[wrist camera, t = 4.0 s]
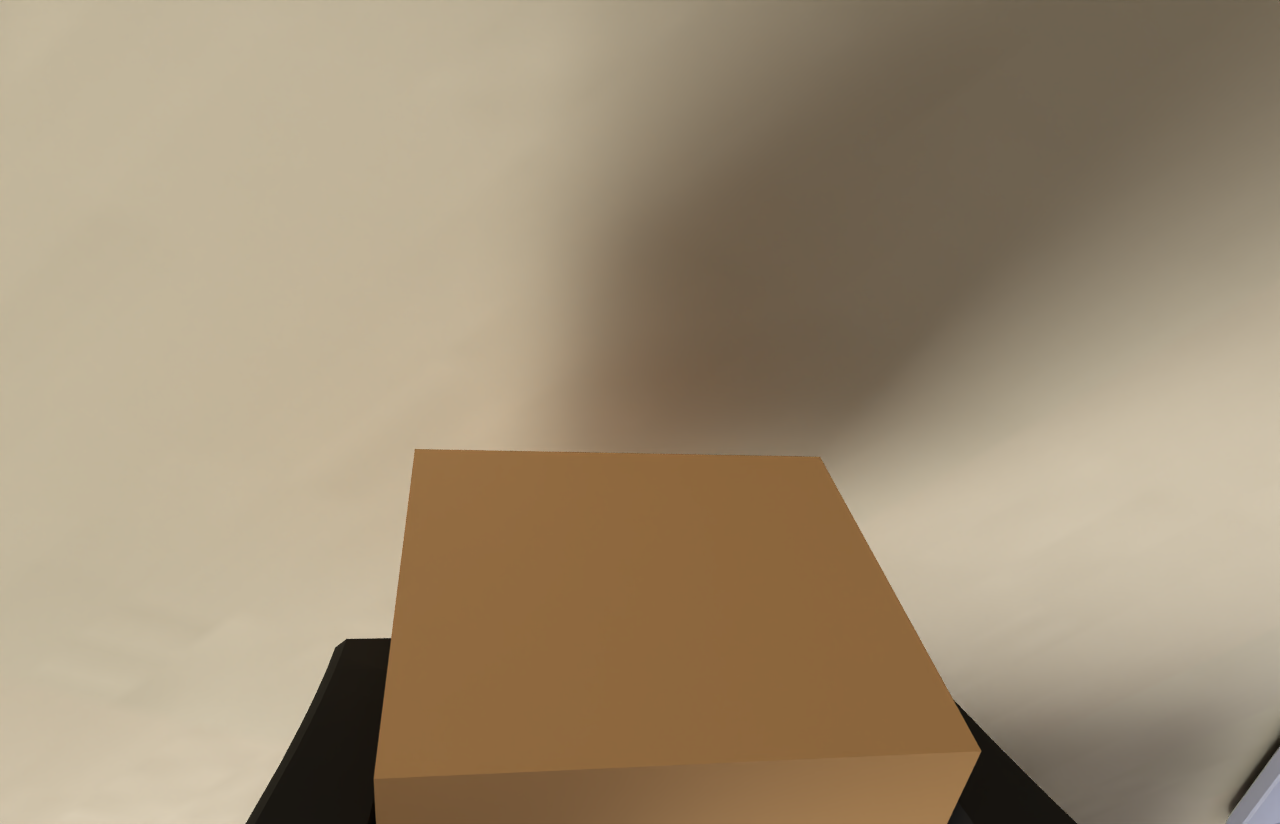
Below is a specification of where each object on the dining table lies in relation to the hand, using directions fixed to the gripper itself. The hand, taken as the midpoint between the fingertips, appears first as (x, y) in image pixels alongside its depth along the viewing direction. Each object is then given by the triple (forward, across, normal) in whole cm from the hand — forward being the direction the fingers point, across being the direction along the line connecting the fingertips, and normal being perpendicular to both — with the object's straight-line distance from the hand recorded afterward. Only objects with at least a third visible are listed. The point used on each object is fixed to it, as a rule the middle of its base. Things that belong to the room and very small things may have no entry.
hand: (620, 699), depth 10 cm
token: (+2, 0, 0) cm, 2 cm away
